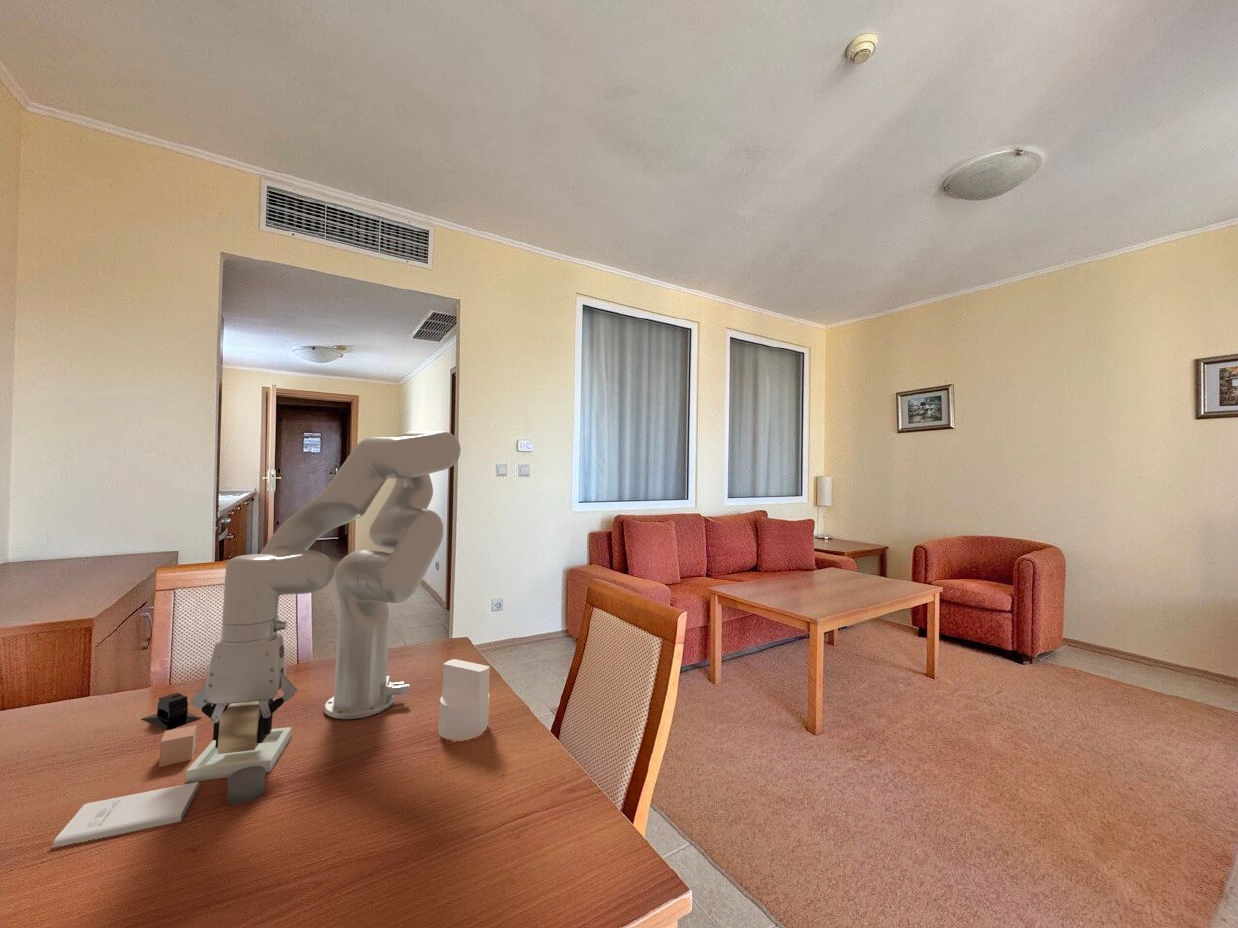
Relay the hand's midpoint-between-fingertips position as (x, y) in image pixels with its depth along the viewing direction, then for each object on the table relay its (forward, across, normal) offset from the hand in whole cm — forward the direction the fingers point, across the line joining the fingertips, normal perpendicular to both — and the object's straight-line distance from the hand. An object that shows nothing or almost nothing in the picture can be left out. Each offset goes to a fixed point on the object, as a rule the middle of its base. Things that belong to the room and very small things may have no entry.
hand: (242, 740), depth 83 cm
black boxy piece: (+4, +17, -19) cm, 26 cm away
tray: (+3, 0, 0) cm, 3 cm away
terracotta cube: (+3, +10, -3) cm, 11 cm away
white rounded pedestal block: (+3, -35, -1) cm, 35 cm away
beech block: (+1, 0, 0) cm, 1 cm away
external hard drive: (+4, +9, +12) cm, 15 cm away
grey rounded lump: (+3, -4, +11) cm, 12 cm away
